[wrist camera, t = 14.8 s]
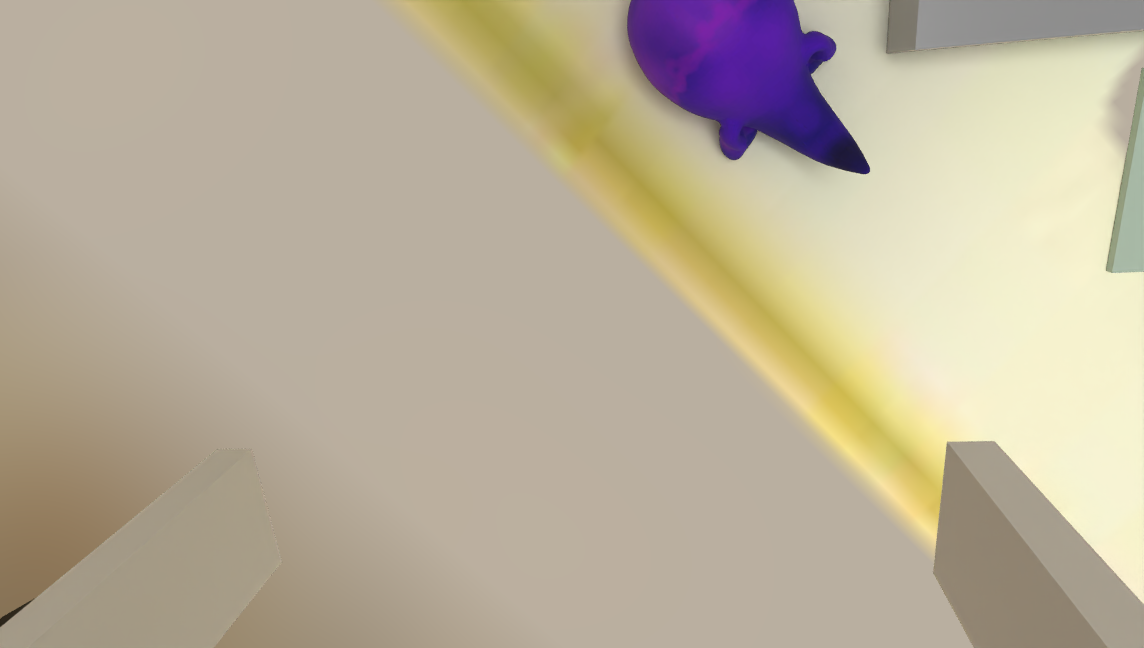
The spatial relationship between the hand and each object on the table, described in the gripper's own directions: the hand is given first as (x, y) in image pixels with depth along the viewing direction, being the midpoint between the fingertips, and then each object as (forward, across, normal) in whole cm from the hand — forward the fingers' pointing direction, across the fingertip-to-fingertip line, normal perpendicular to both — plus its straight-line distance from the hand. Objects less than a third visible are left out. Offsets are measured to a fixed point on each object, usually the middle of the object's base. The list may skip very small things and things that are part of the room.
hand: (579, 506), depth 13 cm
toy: (+35, +7, +8) cm, 36 cm away
